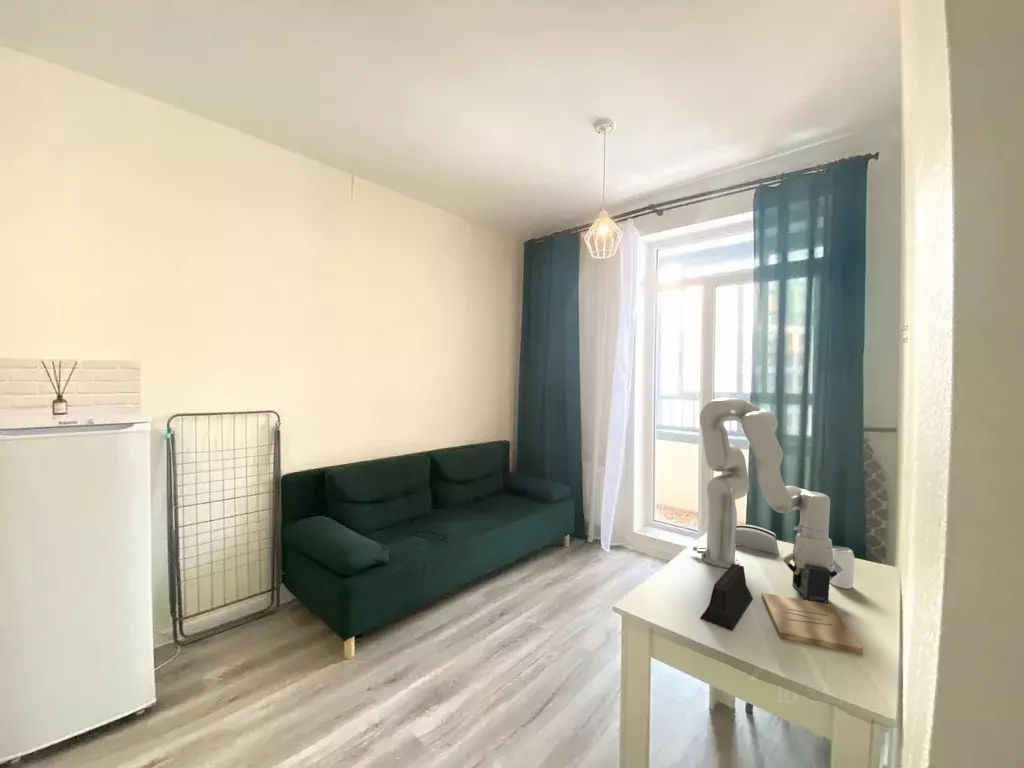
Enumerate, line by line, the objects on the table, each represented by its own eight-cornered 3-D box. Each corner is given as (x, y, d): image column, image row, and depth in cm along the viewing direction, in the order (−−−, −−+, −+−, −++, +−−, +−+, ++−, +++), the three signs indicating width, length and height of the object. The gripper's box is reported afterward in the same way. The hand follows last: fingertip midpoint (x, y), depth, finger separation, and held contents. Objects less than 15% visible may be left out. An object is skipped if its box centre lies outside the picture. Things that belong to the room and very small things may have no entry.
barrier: (732, 632, 117) (734, 595, 117) (698, 619, 123) (700, 584, 122) (753, 599, 135) (755, 567, 134) (723, 589, 141) (725, 558, 140)
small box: (830, 604, 133) (832, 570, 132) (806, 601, 134) (808, 568, 134) (813, 588, 143) (815, 556, 143) (791, 585, 144) (793, 554, 144)
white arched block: (778, 550, 174) (779, 528, 171) (777, 557, 170) (777, 536, 167) (732, 539, 184) (731, 518, 181) (730, 546, 180) (729, 525, 177)
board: (779, 637, 115) (780, 631, 115) (761, 597, 136) (762, 592, 136) (862, 654, 109) (862, 648, 109) (830, 609, 130) (830, 604, 130)
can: (845, 591, 142) (847, 554, 141) (824, 581, 148) (826, 546, 147) (857, 587, 144) (859, 551, 144) (835, 578, 150) (837, 544, 150)
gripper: (785, 532, 137) (782, 588, 138) (851, 540, 131) (848, 599, 132) (779, 524, 144) (776, 577, 145) (841, 532, 138) (838, 587, 139)
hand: (810, 587), depth 138 cm, fingers closed on small box, 6 cm apart
